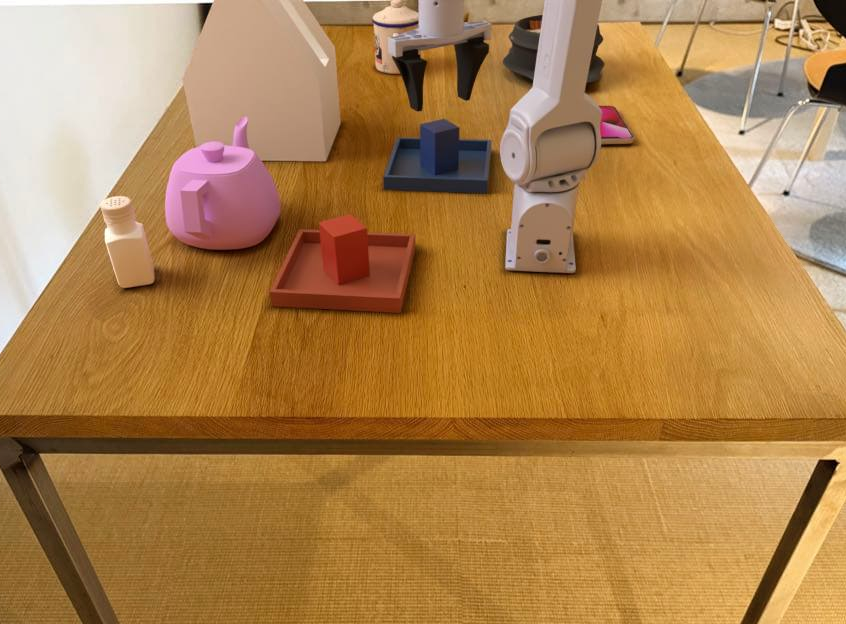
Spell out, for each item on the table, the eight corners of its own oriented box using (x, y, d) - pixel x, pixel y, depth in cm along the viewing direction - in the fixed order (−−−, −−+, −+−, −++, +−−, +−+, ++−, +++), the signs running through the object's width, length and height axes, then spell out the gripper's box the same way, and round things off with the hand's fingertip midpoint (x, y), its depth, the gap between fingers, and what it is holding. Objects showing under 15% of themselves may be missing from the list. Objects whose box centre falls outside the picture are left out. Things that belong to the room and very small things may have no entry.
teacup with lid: (375, 60, 149) (373, -6, 141) (422, 60, 148) (421, -6, 141) (371, 80, 139) (368, 11, 132) (421, 80, 139) (420, 10, 132)
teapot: (302, 197, 103) (293, 115, 95) (253, 272, 88) (238, 181, 81) (209, 191, 105) (193, 109, 97) (146, 263, 90) (121, 174, 82)
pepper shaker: (119, 291, 85) (95, 213, 79) (119, 273, 88) (96, 197, 82) (156, 285, 86) (134, 207, 80) (154, 268, 89) (134, 191, 83)
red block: (370, 275, 86) (367, 227, 82) (338, 285, 85) (334, 237, 81) (354, 260, 89) (350, 213, 85) (323, 269, 87) (318, 222, 83)
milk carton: (340, 123, 123) (327, -54, 107) (326, 161, 112) (308, -31, 96) (225, 121, 125) (194, -54, 108) (198, 159, 113) (159, -31, 97)
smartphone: (614, 105, 125) (636, 138, 114) (613, 111, 126) (634, 145, 114) (570, 106, 125) (586, 139, 114) (569, 112, 126) (585, 145, 114)
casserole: (488, 56, 150) (491, 9, 144) (579, 51, 151) (585, 4, 146) (519, 99, 131) (523, 47, 125) (623, 92, 132) (631, 40, 127)
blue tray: (487, 193, 103) (487, 180, 102) (383, 189, 104) (383, 176, 103) (491, 152, 113) (491, 139, 112) (397, 149, 115) (396, 136, 114)
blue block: (458, 169, 108) (459, 127, 104) (434, 175, 107) (434, 133, 103) (443, 159, 111) (444, 118, 107) (420, 165, 109) (419, 124, 105)
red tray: (400, 313, 81) (400, 298, 80) (271, 306, 82) (269, 291, 81) (415, 248, 92) (415, 233, 90) (301, 243, 93) (299, 229, 92)
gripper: (472, -22, 99) (468, 85, 108) (374, -7, 94) (379, 105, 103) (503, -11, 95) (497, 100, 103) (402, 5, 89) (405, 121, 98)
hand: (440, 103), depth 103 cm, fingers open, 7 cm apart
